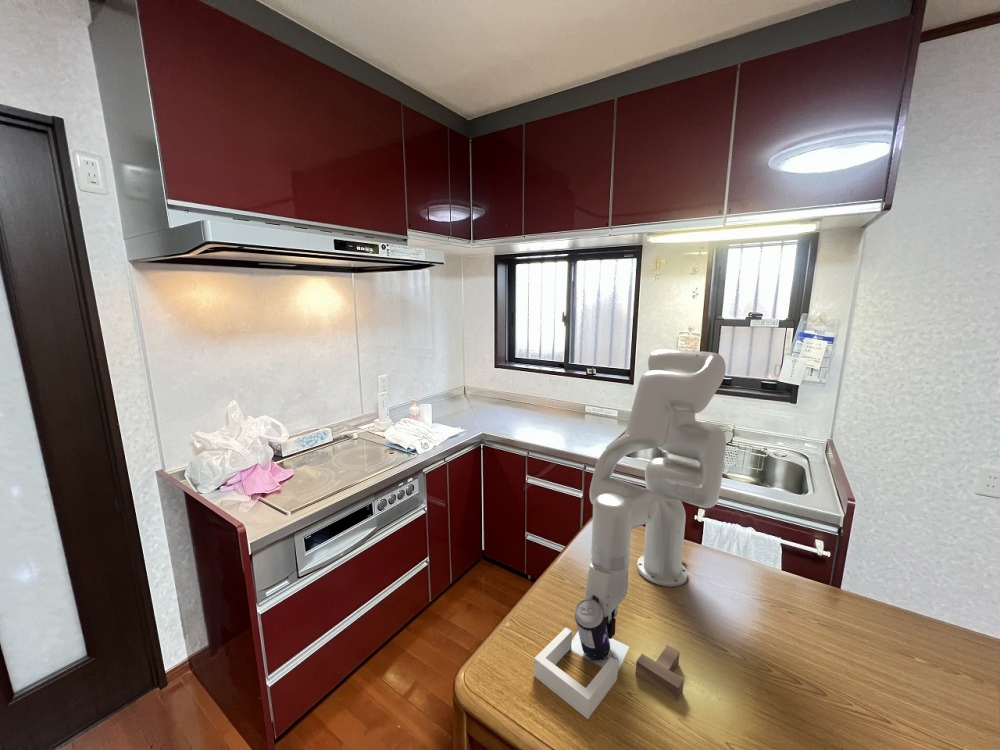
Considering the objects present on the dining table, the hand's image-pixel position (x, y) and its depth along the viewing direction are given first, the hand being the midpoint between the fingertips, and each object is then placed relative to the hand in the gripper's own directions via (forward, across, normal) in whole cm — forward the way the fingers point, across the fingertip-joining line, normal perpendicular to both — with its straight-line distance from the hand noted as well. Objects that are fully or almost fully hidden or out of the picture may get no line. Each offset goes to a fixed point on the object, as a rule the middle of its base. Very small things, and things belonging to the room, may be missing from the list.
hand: (606, 633), depth 86 cm
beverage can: (+2, +4, 0) cm, 4 cm away
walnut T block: (+2, -1, +12) cm, 12 cm away
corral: (+2, +12, 0) cm, 12 cm away
